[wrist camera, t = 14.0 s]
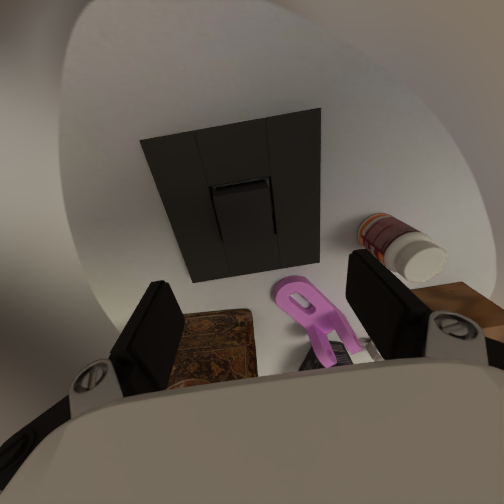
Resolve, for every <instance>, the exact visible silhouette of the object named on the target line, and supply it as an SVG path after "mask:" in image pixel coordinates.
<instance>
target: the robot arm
mask: <svg viewBox="0 0 504 504" xmlns="http://www.w3.org/2000/svg"><path fill="white" fill-rule="evenodd" d="M346 299H347V301H348V303H349V305H350V306H351V308H352V309H353V311H354V313H355V314H356V316H357V317H358V319H359V321H360V322H361V324H362V325H363V327H364V329H365V330H366V332H367V333H368V335H369V337H370V338H371V340H372V341H373V343H374V345H375V346H376V348H377V350H378V351H379V353H380V354H381V356H382V357H383V359H384V360H385V361H377V362H368V363H359V364H352V365H344V366H336V367H329V368H321V369H313V370H306V371H298V372H291V373H284V374H276V375H269V376H261V377H254V378H247V379H240V380H232V381H225V382H218V383H211V384H204V385H197V386H190V387H183V388H176V389H170V390H166V388H167V386H168V382H169V379H170V375H171V372H172V368H173V365H174V361H175V358H176V354H177V351H178V347H179V344H180V340H181V337H182V333H183V330H184V326H185V318H184V316H183V314H182V311H181V309H180V307H179V305H178V303H177V300H176V298H175V296H174V294H173V291H172V289H171V287H170V285H169V283H167V282H165V281H164V280H161V281H155V282H151V283H150V285H149V287H148V288H147V290H146V292H145V294H144V295H143V297H142V299H141V300H140V302H139V304H138V305H137V307H136V309H135V311H134V312H133V314H132V316H131V317H130V319H129V321H128V323H127V324H126V326H125V328H124V329H123V331H122V333H121V334H120V336H119V338H118V340H117V341H116V343H115V345H114V347H113V348H112V350H111V352H110V353H111V354H110V356H109V358H108V359H99V360H96V361H94V362H92V363H90V364H88V365H87V366H86V367H84V368H83V369H82V370H81V371H80V372H79V373H78V374H77V375H76V376H75V377H74V379H73V380H72V382H71V384H70V386H69V395H67V396H66V397H65V398H63V399H62V400H61V401H59V402H58V403H56V404H55V405H54V406H52V407H51V408H49V409H48V410H47V411H45V412H44V413H43V414H41V415H40V416H39V417H37V418H36V419H34V420H33V421H32V422H31V423H29V424H28V425H26V426H25V427H24V428H22V429H21V430H20V431H18V432H17V433H15V434H14V435H13V436H12V437H10V438H9V439H8V440H7V441H6V442H5V443H3V445H2V446H1V447H0V504H504V343H503V342H500V341H497V340H494V339H491V338H488V337H485V335H484V332H483V330H482V328H481V327H480V326H479V325H478V324H477V323H476V322H474V321H473V320H472V319H470V318H468V317H466V316H464V315H462V314H459V313H456V312H453V311H448V310H439V311H434V312H433V311H432V310H431V309H430V308H429V307H428V306H427V305H425V304H424V303H423V302H422V301H421V300H420V299H419V298H418V297H417V296H416V295H415V294H414V293H413V292H412V291H411V290H410V289H409V288H408V287H406V286H405V285H404V284H403V283H402V282H401V281H400V280H399V279H398V278H397V277H396V276H395V275H394V274H393V273H392V272H391V271H390V270H388V269H387V268H386V267H385V266H384V265H383V264H382V263H381V262H380V261H379V260H378V259H377V258H376V257H375V256H374V255H373V254H372V253H371V252H369V251H368V250H367V249H359V250H354V251H353V252H352V254H350V255H349V261H348V272H347V283H346Z"/></svg>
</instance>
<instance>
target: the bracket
mask: <svg viewBox="0 0 504 504" xmlns="http://www.w3.org/2000/svg"><path fill="white" fill-rule="evenodd" d="M294 292H298V293H300V294H301V295H302V296H304V297H305V298H306V299H307V300H308V301H309V302H310V303H311V304H312V306H311V307H310V308H303V307H302V306H301V305H300V304H299V303H297V302H296V301H295V300H294V299H293V298H292V297H290V294H292V293H294ZM274 294H275V299H276V303H277V305H278V306H279V307H280V308H281V309H282V310H284V311H285V312H286V313H287V314H289V315H290V316H291V317H292V318H294V319H295V320H296V321H297V322H298V323H300V324H301V325H302V326H303V327H305V329H306V330H307V333H308V336H309V339H310V341H311V344H312V347H313V350H314V352H315V354H316V356H317V358H318V360H319V361H320V362H321V364H322V365H323V366H324V367H326V368H329V367H331V366H333V365H334V364H336V363H337V359H336V356H335V354H334V352H333V350H332V347H331V345H330V343H329V341H328V338H327V336H326V335H327V334H328V333H330V332H332V331H333V330H336V332H337V334H338V336H339V338H340V339H341V341H342V342H343V344H344V345H345V347H346V348H347V349H348V350H349V351H350V352H351V353H352V354H355V353H357V352H358V351H360V350H362V349H363V347H362V345H361V343H360V341H359V339H358V338H357V336H356V334H355V333H354V331H353V329H352V328H351V326H350V324H349V322H348V321H347V319H346V317H345V316H344V314H343V313H342V312H341V311H340V310H338V309H337V308H336V307H335V306H334V305H333V304H332V303H331V302H330V301H329V300H328V299H327V298H326V297H325V296H324V295H323V294H322V293H321V292H320V291H319V290H318V289H317V288H316V287H315V286H314V285H313V284H312V283H311V282H310V281H309V280H307V279H306V278H304V277H302V276H289V277H286V278H284V279H283V280H281V281H280V282H279V283H278V284H277V285H276V287H275V290H274Z"/></svg>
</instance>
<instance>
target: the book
mask: <svg viewBox="0 0 504 504" xmlns="http://www.w3.org/2000/svg"><path fill="white" fill-rule="evenodd" d="M183 316H184V318H185V326H184V330H183V333H182V337H181V340H180V344H179V347H178V351H177V354H176V358H175V361H174V365H173V368H172V372H171V375H170V379H169V382H168V386H167V388H166V390H170V389H176V388H183V387H190V386H197V385H204V384H211V383H218V382H225V381H232V380H240V379H247V378H254V377H258V371H257V358H256V346H255V339H254V327H253V317H252V313H251V311H250V310H249V309H237V310H223V311H213V312H203V313H193V314H183Z"/></svg>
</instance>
